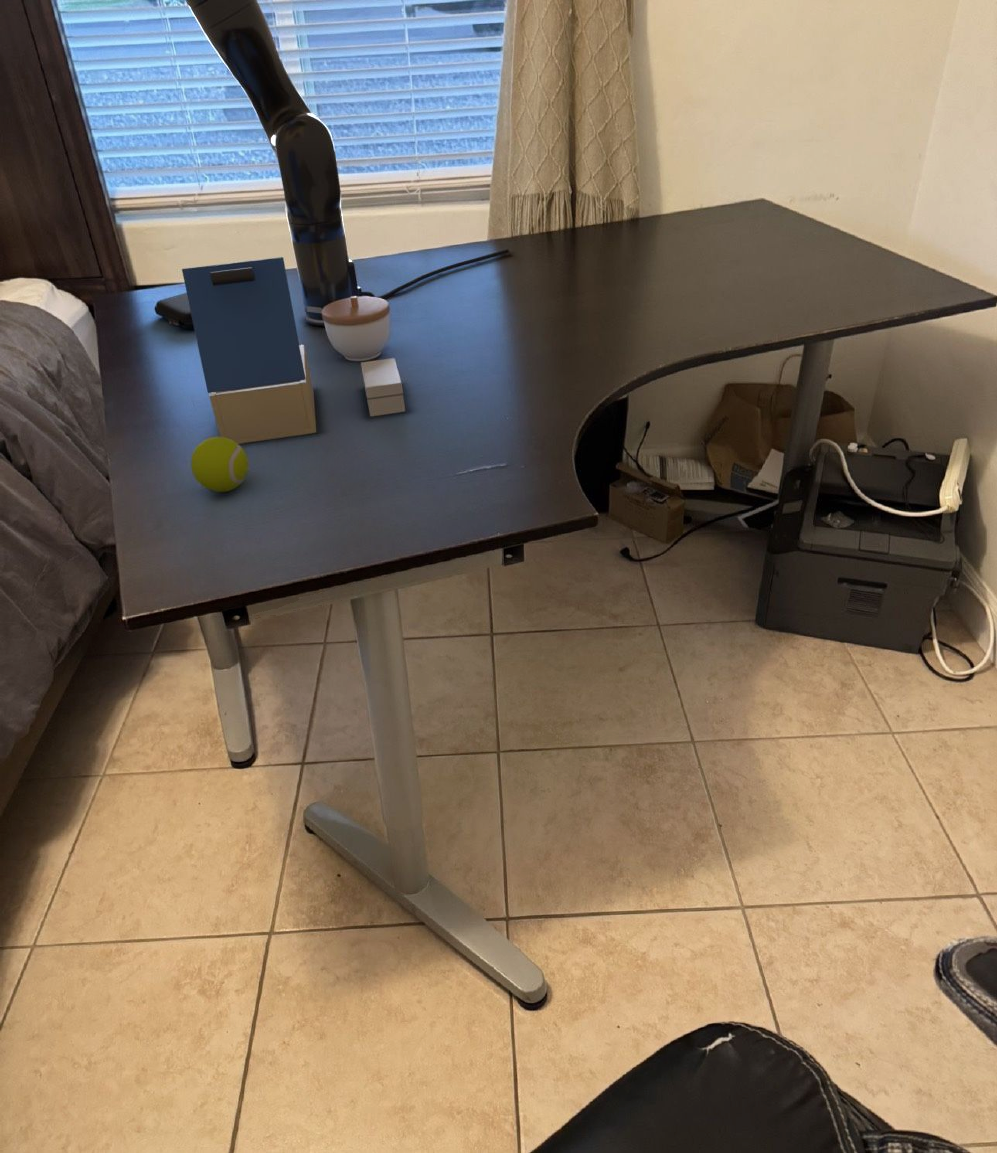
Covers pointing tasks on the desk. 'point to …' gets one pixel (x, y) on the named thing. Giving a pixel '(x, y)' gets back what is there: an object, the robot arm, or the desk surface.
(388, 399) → the beige case
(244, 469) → the tennis ball
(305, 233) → the robot arm
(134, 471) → the desk surface
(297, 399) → the storage box
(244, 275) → the blue lid
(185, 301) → the carrying case
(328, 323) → the white bowl with lid
